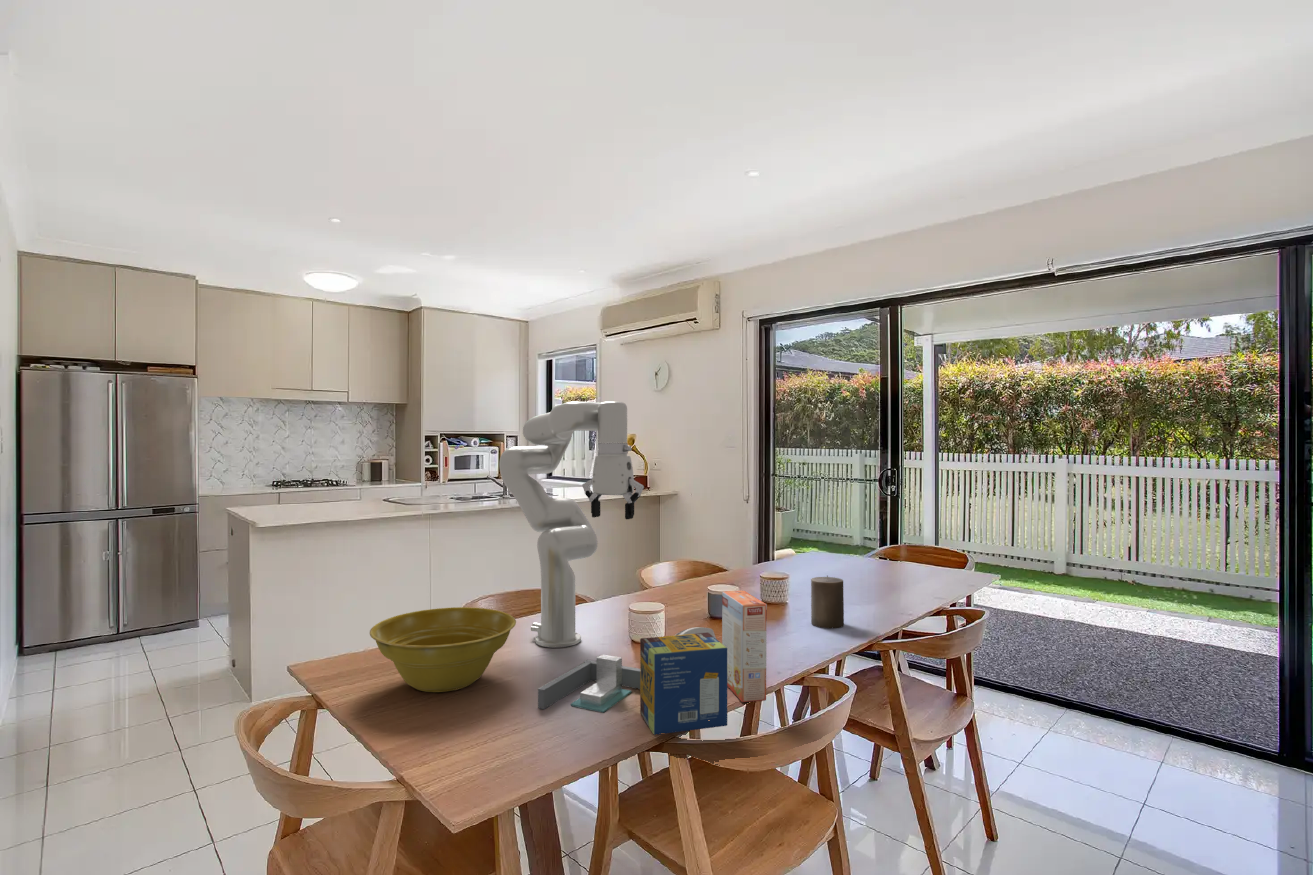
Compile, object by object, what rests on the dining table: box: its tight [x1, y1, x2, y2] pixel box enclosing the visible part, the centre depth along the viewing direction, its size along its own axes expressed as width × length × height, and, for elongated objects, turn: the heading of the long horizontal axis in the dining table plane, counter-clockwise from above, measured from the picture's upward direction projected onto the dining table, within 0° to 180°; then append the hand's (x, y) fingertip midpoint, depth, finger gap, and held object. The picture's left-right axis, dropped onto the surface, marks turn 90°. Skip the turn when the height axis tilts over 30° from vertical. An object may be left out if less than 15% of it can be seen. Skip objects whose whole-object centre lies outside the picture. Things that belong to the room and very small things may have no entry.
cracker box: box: [721, 590, 768, 703], centre depth 145 cm, size 14×6×21 cm, turn 12°
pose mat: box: [570, 688, 632, 713], centre depth 140 cm, size 8×12×1 cm, turn 154°
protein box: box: [639, 632, 728, 736], centre depth 130 cm, size 10×15×16 cm
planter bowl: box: [369, 606, 517, 693], centre depth 151 cm, size 32×32×13 cm
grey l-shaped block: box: [579, 654, 623, 707], centre depth 140 cm, size 9×5×8 cm, turn 154°
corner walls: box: [537, 659, 640, 710], centre depth 141 cm, size 18×20×4 cm
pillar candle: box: [810, 575, 845, 630], centre depth 198 cm, size 10×10×15 cm
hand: (612, 517), depth 165 cm, fingers open, 9 cm apart
